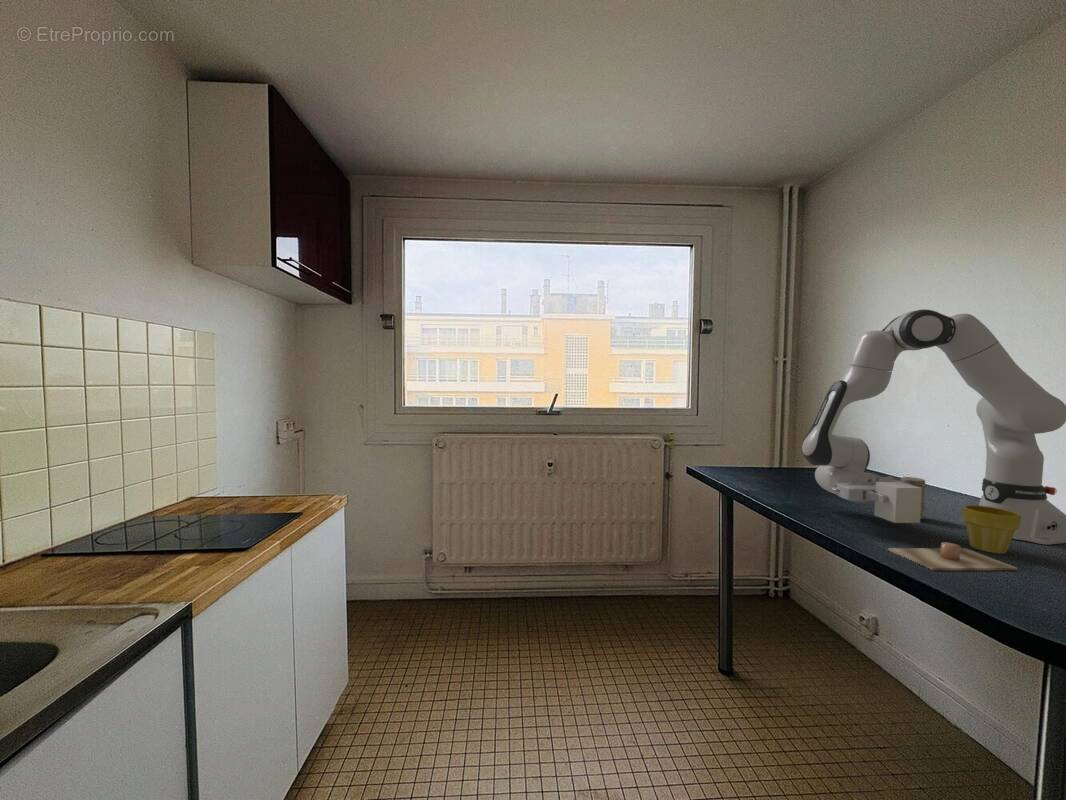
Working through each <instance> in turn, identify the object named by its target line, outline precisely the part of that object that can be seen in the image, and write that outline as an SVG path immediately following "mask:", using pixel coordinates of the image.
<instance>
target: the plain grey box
mask: <svg viewBox="0 0 1066 800" xmlns="http://www.w3.org/2000/svg"><path fill="white" fill-rule="evenodd" d="M875 493H877V494H884V495H887V496H888V502H879V501H874V516H875V517H878V518H881V519H884V520H886V521H889V522H891V523H894V524H903V523H904V524H909V523H910V524H917V523H919V524H920V523H921V519H920V515H921V496H922V488H921V487H917V486H913V485H910V484H906V483H902V482H876V492H875Z"/></svg>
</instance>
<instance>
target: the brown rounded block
mask: <svg viewBox="0 0 1066 800" xmlns="http://www.w3.org/2000/svg"><path fill="white" fill-rule="evenodd" d="M940 548H941V552H940V556H941V557H943V558H945V559H949V560H960V549H961V548H962V547H961V545H959V544H956V543H952V542H947V541H943V542H941V543H940Z"/></svg>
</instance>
